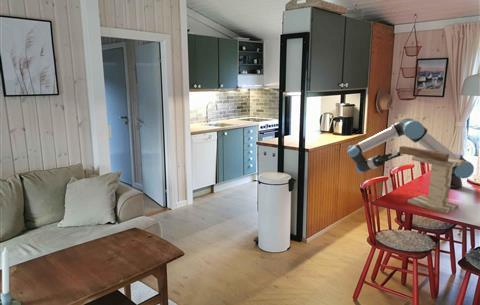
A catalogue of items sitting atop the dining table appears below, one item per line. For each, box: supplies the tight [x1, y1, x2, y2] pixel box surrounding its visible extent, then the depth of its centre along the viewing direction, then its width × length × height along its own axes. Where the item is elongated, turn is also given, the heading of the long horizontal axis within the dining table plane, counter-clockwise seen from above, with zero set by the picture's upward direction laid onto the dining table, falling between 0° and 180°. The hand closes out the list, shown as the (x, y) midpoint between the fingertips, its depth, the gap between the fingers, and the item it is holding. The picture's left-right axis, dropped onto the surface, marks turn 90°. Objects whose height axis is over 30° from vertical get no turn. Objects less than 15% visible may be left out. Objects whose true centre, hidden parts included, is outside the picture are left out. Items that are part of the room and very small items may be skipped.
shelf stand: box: [407, 156, 464, 215], centre depth 215 cm, size 16×22×29 cm
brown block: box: [398, 145, 449, 162], centre depth 215 cm, size 4×28×4 cm, turn 34°
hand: (403, 151), depth 225 cm, fingers open, 13 cm apart
